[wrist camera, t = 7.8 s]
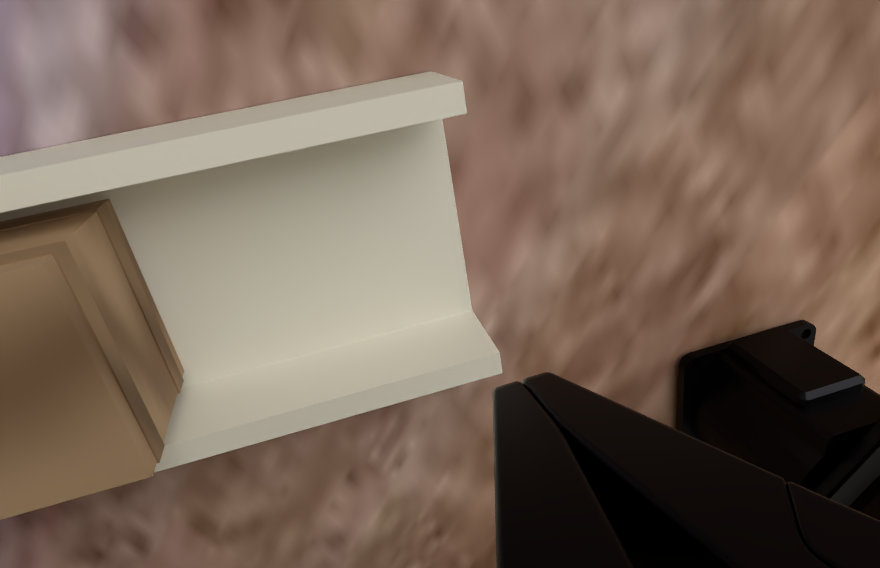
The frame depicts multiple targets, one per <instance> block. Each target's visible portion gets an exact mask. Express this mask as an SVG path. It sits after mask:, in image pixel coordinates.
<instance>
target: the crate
mask: <svg viewBox="0 0 880 568" xmlns="http://www.w3.org/2000/svg"><path fill="white" fill-rule="evenodd" d="M183 374H184V369H183V367H182V364H181V362H180V360H179V357H178V355H177V353H176V350H175V348H174V346H173V344H172V341H171V339H170V337H169V334H168V332H167V330H166V327H165V325H164V323H163V321H162V318H161V316H160V314H159V311H158V309H157V307H156V305H155V302H154V300H153V298H152V295H151V293H150V291H149V288H148V286H147V284H146V282H145V279H144V277H143V275H142V272H141V270H140V268H139V265H138V263H137V261H136V259H135V256H134V254H133V252H132V249H131V247H130V245H129V242H128V240H127V238H126V236H125V233H124V231H123V229H122V226H121V224H120V222H119V220H118V217H117V215H116V213H115V210H114V208H113V206H112V203H111V201H110V199H105V200H100V201H96V202H91V203H86V204H82V205H77V206H72V207H68V208H63V209H58V210H53V211H49V212H44V213H39V214H35V215H30V216H25V217H20V218H16V219H11V220H6V221H2V222H0V520H2V519H5V518H9V517H12V516H16V515H19V514H23V513H26V512H30V511H33V510H37V509H40V508H44V507H47V506H51V505H54V504H58V503H61V502H65V501H68V500H72V499H75V498H79V497H83V496H86V495H90V494H93V493H97V492H100V491H104V490H107V489H111V488H114V487H118V486H121V485H125V484H128V483H132V482H135V481H139V480H142V479H146V478H149V477H153V474H154V471H155V467H156V464H157V463H160V460H161V457H162V453H163V450H164V447H165V445H164V443H163V440H164V437H165V434H166V430H167V427H168V424H169V420H170V417H171V414H172V410H173V407H174V404H175V400H176V397H177V394H179V393H180V392H181V389H182V385H183V382H184V380H183V378H182V377H183Z"/></svg>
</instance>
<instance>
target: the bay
mask: <svg viewBox="0 0 880 568" xmlns="http://www.w3.org/2000/svg"><path fill="white" fill-rule="evenodd" d="M462 114H467V110H466V103H465V95H464V88H463V81H461V80H458V79H454V78H451V77H448V76H445V75H442V74H438V73H435V72H432V71H428V72H423V73H418V74H413V75H408V76H403V77H398V78H393V79H388V80H383V81H378V82H373V83H368V84H363V85H358V86H353V87H348V88H343V89H338V90H333V91H328V92H323V93H318V94H313V95H308V96H303V97H298V98H293V99H288V100H283V101H278V102H273V103H268V104H263V105H258V106H253V107H248V108H243V109H238V110H233V111H228V112H223V113H218V114H213V115H208V116H203V117H198V118H193V119H188V120H183V121H178V122H173V123H168V124H163V125H158V126H153V127H148V128H143V129H138V130H133V131H128V132H123V133H118V134H113V135H108V136H103V137H98V138H93V139H88V140H83V141H78V142H73V143H68V144H63V145H58V146H53V147H48V148H43V149H38V150H33V151H28V152H23V153H18V154H13V155H8V156H3V157H0V222H2V221H6V220H11V219H16V218H20V217H25V216H30V215H35V214H39V213H44V212H49V211H53V210H58V209H63V208H68V207H72V206H77V205H82V204H86V203H91V202H96V201H100V200H105V199H110V201H111V203H112V206H113V208H114V210H115V213H116V215H117V217H118V220H119V222H120V224H121V226H122V229H123V231H124V233H125V236H126V238H127V240H128V242H129V245H130V247H131V249H132V252H133V254H134V256H135V259H136V261H137V263H138V265H139V268H140V270H141V272H142V275H143V277H144V279H145V282H146V284H147V286H148V288H149V291H150V293H151V295H152V298H153V300H154V302H155V305H156V307H157V309H158V311H159V314H160V316H161V318H162V321H163V323H164V325H165V327H166V330H167V332H168V334H169V337H170V339H171V341H172V344H173V346H174V348H175V350H176V353H177V355H178V357H179V360H180V362H181V364H182V367H183V369H184V374H183V377H182V378H183V380H184V382H183V385H182V389H181V392H180V393H179V394H177V397H176V400H175V404H174V407H173V410H172V414H171V417H170V420H169V424H168V427H167V430H166V434H165V437H164V440H163V443H164V445H165V447H164V450H163V453H162V457H161V460H160V463H157V464H156V467H155V471H154V472H158V471H161V470H165V469H168V468H172V467H175V466H179V465H182V464H186V463H189V462H193V461H196V460H200V459H203V458H207V457H210V456H214V455H217V454H221V453H225V452H228V451H232V450H235V449H239V448H242V447H246V446H249V445H253V444H256V443H260V442H263V441H267V440H270V439H274V438H277V437H281V436H284V435H288V434H291V433H295V432H298V431H302V430H305V429H309V428H312V427H316V426H319V425H323V424H326V423H330V422H333V421H337V420H340V419H344V418H347V417H351V416H354V415H358V414H361V413H365V412H368V411H372V410H375V409H379V408H382V407H386V406H389V405H393V404H396V403H400V402H403V401H407V400H410V399H414V398H417V397H421V396H424V395H428V394H431V393H435V392H438V391H442V390H445V389H449V388H452V387H456V386H459V385H463V384H466V383H470V382H473V381H477V380H480V379H484V378H487V377H491V376H494V375H498V374H501V373H502V366H501V359H500V352H499V351H498V349H497V348H496V346H495V345H494V343H493V342H492V340H491V338H490V337H489V335H488V334H487V332H486V331H485V329H484V328H483V326H482V325H481V323H480V322H479V320H478V318H477V317H476V315H475V314H474V312H473V311H472V306H471V300H470V293H469V287H468V280H467V274H466V268H465V261H464V255H463V248H462V242H461V236H460V229H459V223H458V216H457V210H456V204H455V197H454V191H453V184H452V178H451V172H450V165H449V159H448V152H447V146H446V140H445V133H444V127H443V120H442V119H443V118H448V117H452V116H457V115H462Z"/></svg>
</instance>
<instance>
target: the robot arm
mask: <svg viewBox="0 0 880 568" xmlns="http://www.w3.org/2000/svg"><path fill="white" fill-rule="evenodd" d="M815 334H816V327H815V326H814V325H813V324H811V323H809V322H807V321H805V320H800V321H796V322H793V323H789V324H786V325H783V326H779V327H776V328H773V329H769V330H766V331H762V332H759V333H756V334H752V335H749V336H745V337H742V338H739V339H735V340H732V341H728V342H725V343H722V344H718V345H715V346H712V347H708V348H705V349H701V350H698V351H695V352H691V353H688V354H686V355H685V356H684V357H683V358H682V359H681V361H680V363H679V376H678V408H677V430H676V429H674V428H671V427H669V426H667V425H665V424H663V423H660V422H658V421H656V420H654V419H652V418H649V417H647V416H645V415H643V414H641V413H638V412H636V411H634V410H632V409H630V408H627V407H625V406H623V405H621V404H619V403H616V402H614V401H612V400H610V399H608V398H605V397H603V396H601V395H599V394H597V393H594V392H592V391H590V390H588V389H586V388H583V387H581V386H579V385H577V384H574V383H572V382H570V381H568V380H566V379H563V378H561V377H559V376H557V375H555V374H552V373H549V372H545V373H541V374H538V375H535V376H532V377H528V378H525V379H524V380H523V381H522V383H521V382H518V381H516V382H512V383H509V384H506V385H502V386H499V387H496V388H495V389H494V390H493V432H494V475H495V519H496V563H497V568H880V395H879V394H878V393H876V392H874V391H873V390H871V389H870V388H868V387H866V386H865V385H864V384H865V378H864V377H862V376H861V375H860V374H859V373H857V372H855V371H854V370H852V369H850V368H849V367H847V366H846V365H844V364H842V363H841V362H839V361H837V360H836V359H834V358H832V357H831V356H829V355H827V354H826V353H824V352H822V351H821V350H819V349H818V348H816V347H814V340H815ZM693 363H694V364H693ZM692 364H693V365H692ZM691 365H692V366H691ZM690 366H691V367H690Z"/></svg>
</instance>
